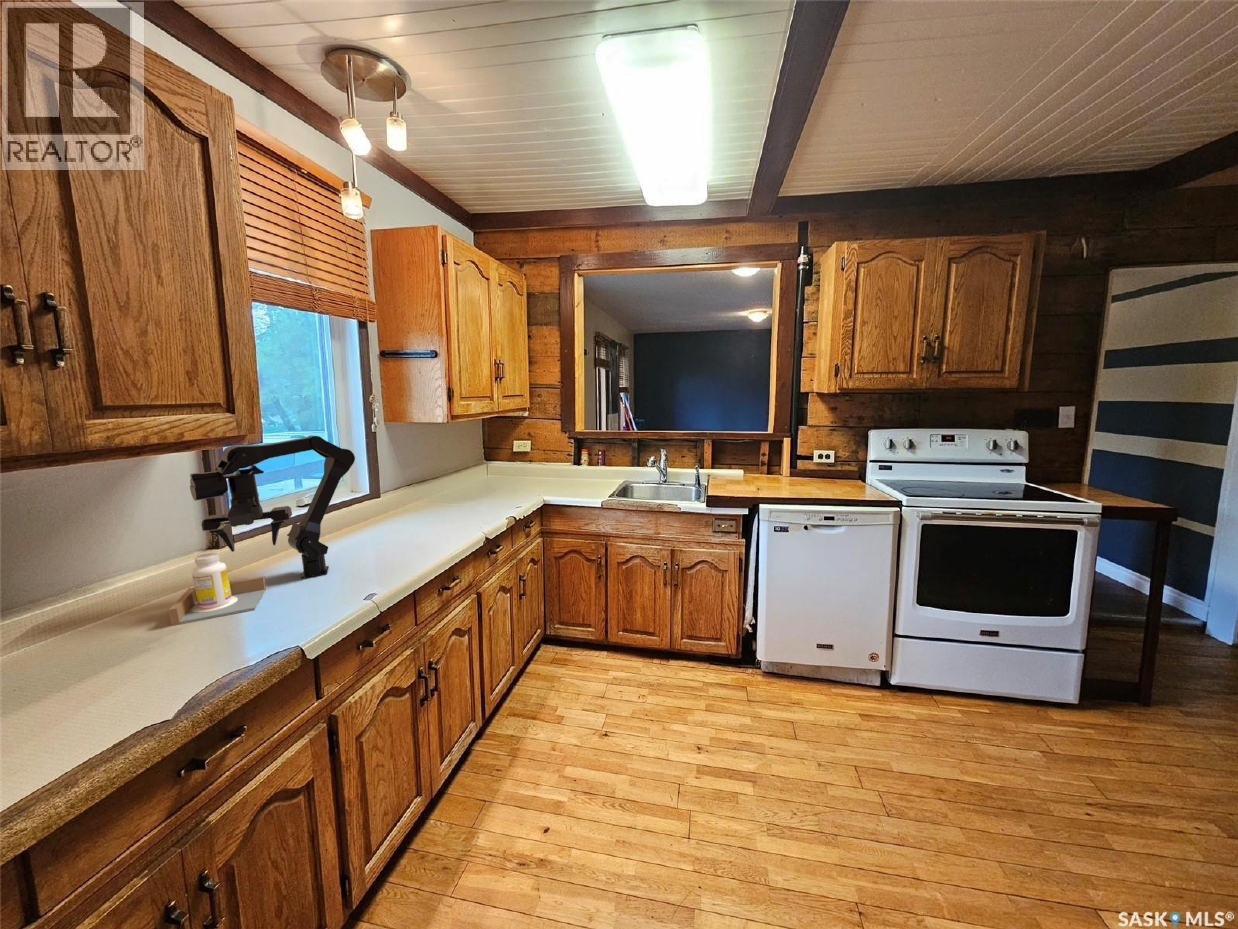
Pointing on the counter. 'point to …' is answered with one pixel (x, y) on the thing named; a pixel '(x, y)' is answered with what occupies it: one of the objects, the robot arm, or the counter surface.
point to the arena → (243, 600)
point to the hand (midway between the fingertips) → (254, 548)
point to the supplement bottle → (211, 581)
